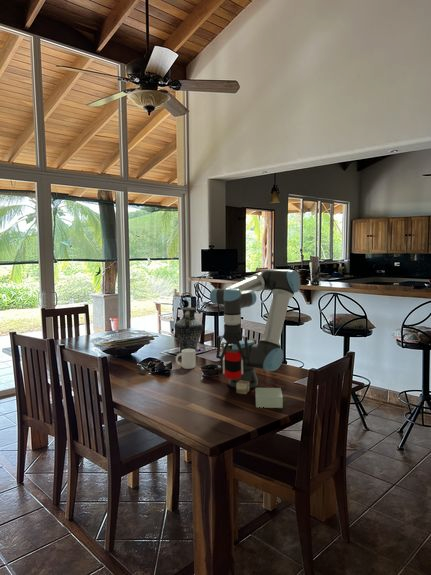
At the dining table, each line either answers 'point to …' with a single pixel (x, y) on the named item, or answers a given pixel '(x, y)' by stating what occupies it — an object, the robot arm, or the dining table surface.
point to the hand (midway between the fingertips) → (233, 373)
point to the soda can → (232, 364)
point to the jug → (188, 329)
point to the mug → (187, 358)
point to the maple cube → (242, 387)
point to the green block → (269, 398)
